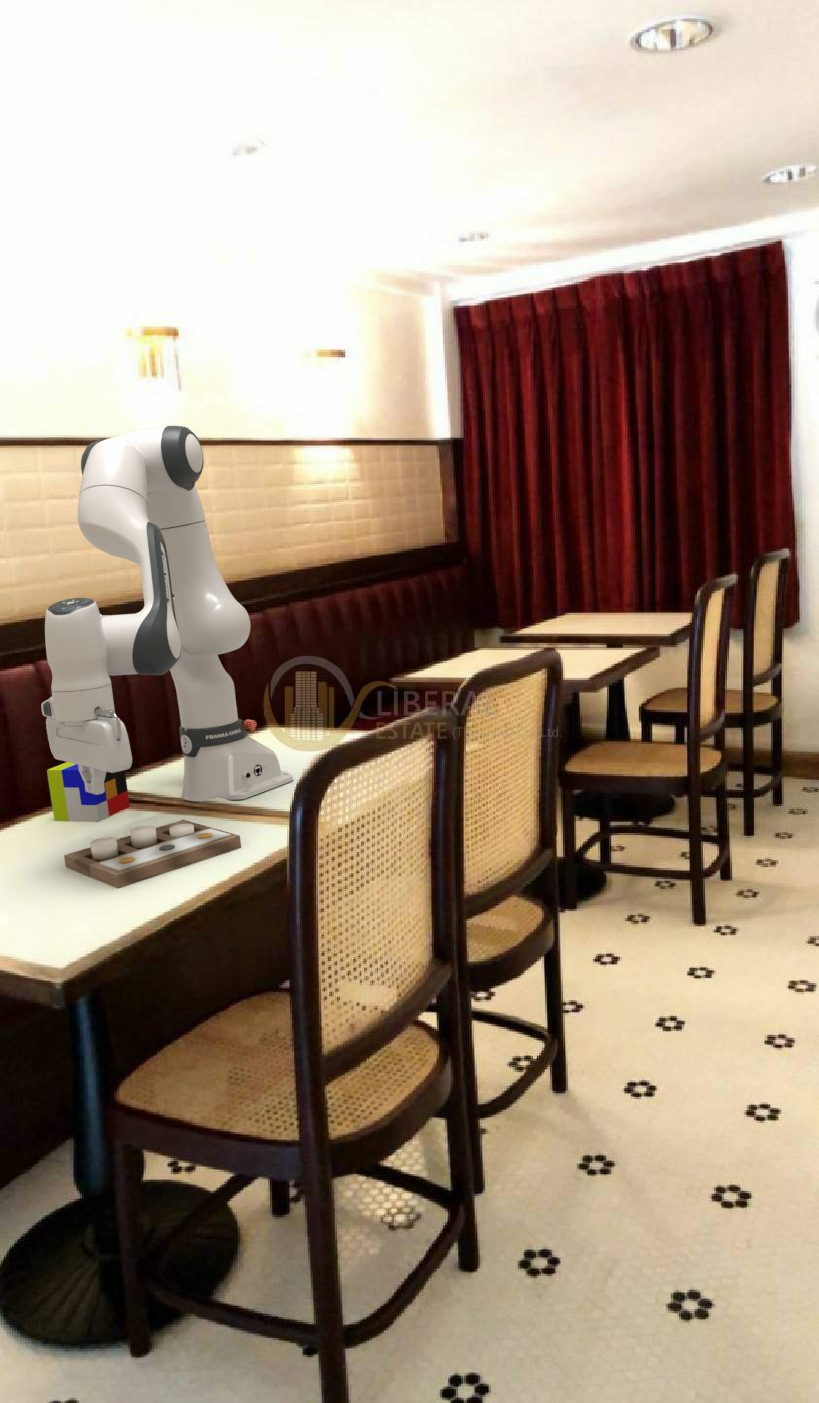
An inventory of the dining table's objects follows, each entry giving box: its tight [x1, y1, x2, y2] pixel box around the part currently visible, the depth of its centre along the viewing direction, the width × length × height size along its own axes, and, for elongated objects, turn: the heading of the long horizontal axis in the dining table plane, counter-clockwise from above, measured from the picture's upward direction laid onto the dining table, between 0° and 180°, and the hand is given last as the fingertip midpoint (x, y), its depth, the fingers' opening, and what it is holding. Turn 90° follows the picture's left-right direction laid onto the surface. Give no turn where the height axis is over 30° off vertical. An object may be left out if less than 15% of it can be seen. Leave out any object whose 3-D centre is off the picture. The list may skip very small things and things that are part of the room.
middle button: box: [129, 825, 157, 848], centre depth 176 cm, size 4×4×2 cm
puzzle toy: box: [46, 761, 131, 823], centre depth 208 cm, size 10×10×10 cm
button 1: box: [89, 836, 118, 860], centre depth 171 cm, size 4×4×2 cm
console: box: [63, 819, 242, 889], centre depth 174 cm, size 22×17×4 cm
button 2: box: [169, 824, 194, 838], centre depth 181 cm, size 4×4×2 cm
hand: (95, 792), depth 169 cm, fingers closed
